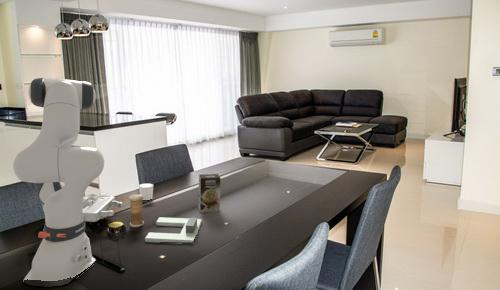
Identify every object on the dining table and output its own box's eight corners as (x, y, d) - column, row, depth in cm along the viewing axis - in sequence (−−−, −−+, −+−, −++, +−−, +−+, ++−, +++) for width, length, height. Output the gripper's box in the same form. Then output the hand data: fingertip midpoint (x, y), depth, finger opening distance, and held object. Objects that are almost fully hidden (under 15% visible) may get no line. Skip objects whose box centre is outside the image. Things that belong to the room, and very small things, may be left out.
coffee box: (200, 212, 177) (200, 178, 173) (198, 207, 183) (198, 174, 179) (220, 211, 179) (220, 177, 176) (217, 206, 185) (218, 173, 182)
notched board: (193, 244, 147) (193, 232, 146) (145, 241, 147) (145, 230, 146) (201, 222, 166) (201, 212, 165) (159, 220, 167) (159, 210, 166)
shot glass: (149, 202, 188) (149, 188, 186) (136, 200, 189) (136, 186, 188) (156, 197, 194) (155, 183, 193) (143, 196, 196) (142, 182, 194)
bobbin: (141, 227, 159) (140, 199, 157) (127, 227, 160) (126, 198, 157) (145, 222, 165) (144, 194, 162) (132, 221, 165) (131, 194, 163)
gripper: (71, 209, 151) (107, 211, 150) (94, 192, 171) (126, 193, 170) (73, 225, 152) (108, 226, 152) (95, 205, 172) (126, 207, 172)
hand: (118, 208), depth 161 cm, fingers open, 8 cm apart
